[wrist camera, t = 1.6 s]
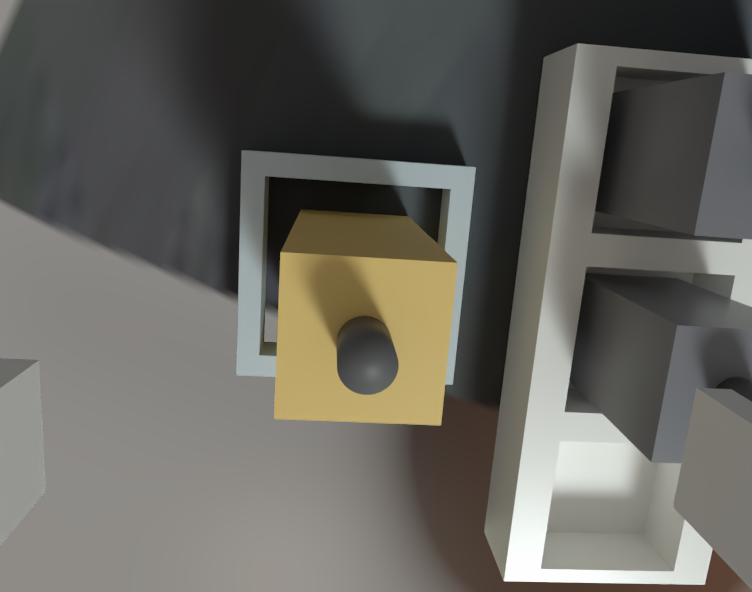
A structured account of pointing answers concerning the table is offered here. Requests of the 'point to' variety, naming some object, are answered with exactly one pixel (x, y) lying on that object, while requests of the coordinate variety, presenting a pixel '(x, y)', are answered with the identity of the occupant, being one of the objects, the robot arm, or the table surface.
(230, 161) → the table surface
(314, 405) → the plug
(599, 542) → the strip
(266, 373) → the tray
